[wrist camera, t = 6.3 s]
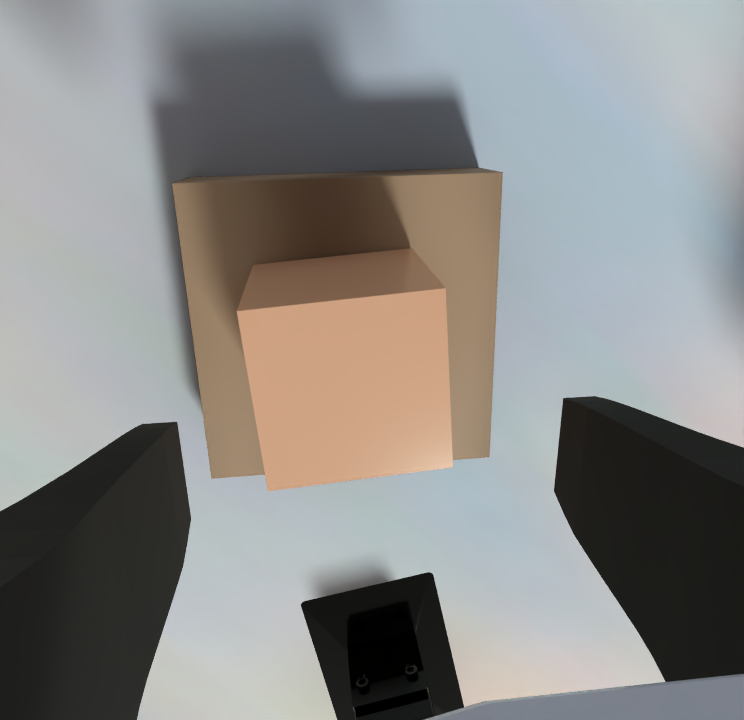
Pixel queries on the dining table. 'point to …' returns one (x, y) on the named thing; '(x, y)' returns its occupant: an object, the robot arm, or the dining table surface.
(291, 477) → the terracotta cube
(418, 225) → the walnut slab
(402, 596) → the black slotted bracket
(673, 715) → the robot arm
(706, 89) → the dining table surface
